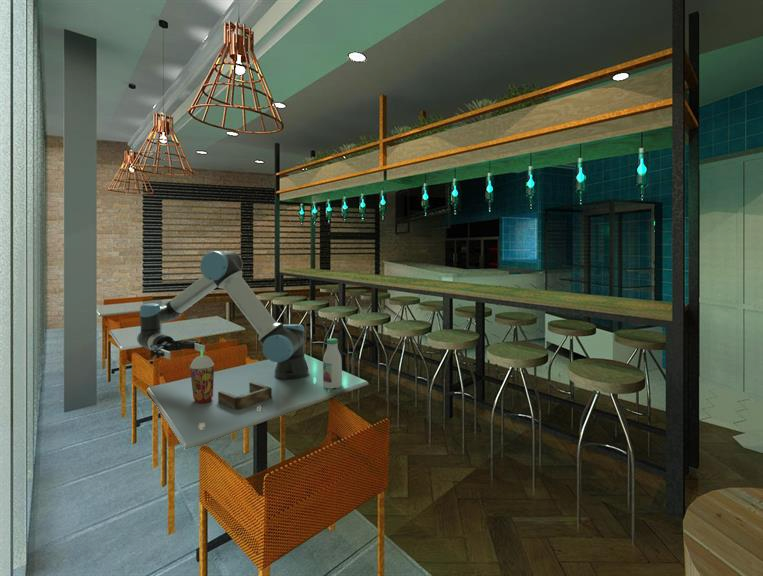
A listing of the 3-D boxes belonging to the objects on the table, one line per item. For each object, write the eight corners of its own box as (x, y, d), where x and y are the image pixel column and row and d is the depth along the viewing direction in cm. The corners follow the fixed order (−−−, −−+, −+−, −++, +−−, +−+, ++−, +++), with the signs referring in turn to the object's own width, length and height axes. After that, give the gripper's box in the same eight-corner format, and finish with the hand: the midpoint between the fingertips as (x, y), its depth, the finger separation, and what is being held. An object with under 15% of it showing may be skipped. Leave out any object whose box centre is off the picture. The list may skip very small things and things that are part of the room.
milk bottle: (339, 382, 177) (339, 336, 175) (343, 388, 169) (343, 340, 167) (321, 384, 174) (321, 337, 172) (325, 390, 167) (324, 341, 165)
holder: (252, 391, 165) (252, 381, 165) (271, 397, 158) (271, 387, 158) (218, 402, 153) (218, 391, 153) (237, 409, 146) (236, 398, 146)
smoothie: (187, 400, 155) (185, 348, 153) (209, 394, 161) (207, 344, 159) (196, 406, 149) (194, 352, 147) (219, 400, 155) (217, 348, 153)
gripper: (190, 347, 182) (217, 355, 169) (129, 358, 163) (153, 368, 150) (190, 330, 182) (216, 337, 169) (128, 339, 162) (153, 348, 149)
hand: (187, 352), depth 159 cm, fingers open, 13 cm apart
